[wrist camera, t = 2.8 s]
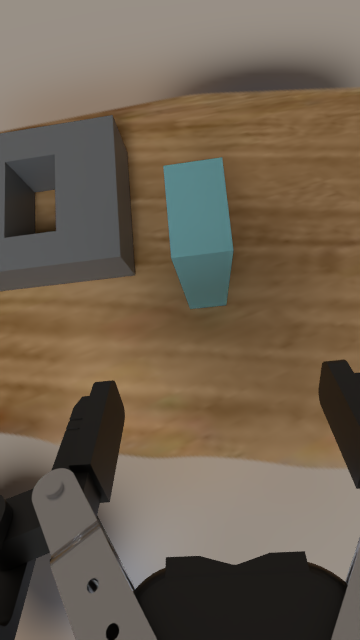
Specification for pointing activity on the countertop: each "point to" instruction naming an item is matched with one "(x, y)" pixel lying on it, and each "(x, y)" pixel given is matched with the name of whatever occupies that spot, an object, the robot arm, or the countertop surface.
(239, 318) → the countertop surface
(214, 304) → the teal rectangular block
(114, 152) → the gray slotted block
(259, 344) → the countertop surface
